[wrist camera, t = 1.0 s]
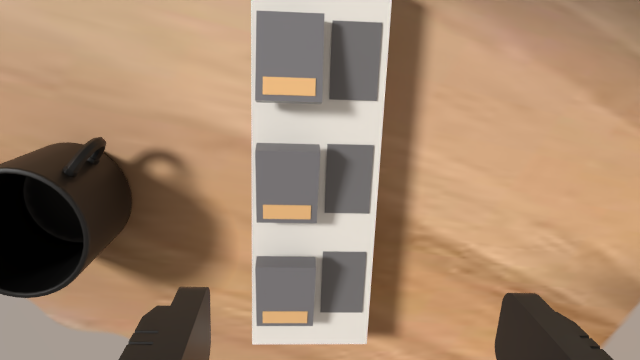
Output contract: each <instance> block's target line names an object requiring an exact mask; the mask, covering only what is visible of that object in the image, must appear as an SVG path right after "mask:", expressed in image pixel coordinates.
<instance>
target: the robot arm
mask: <svg viewBox="0 0 640 360" xmlns="http://www.w3.org/2000/svg"><path fill="white" fill-rule="evenodd" d="M210 345H211V326H210V290H209V287H179V289H178V291H177V293H176V295H175V297H174V300H173V302H172V304H171V306H156V307H155V308H153V309H152V310H151V311H150V312H148V313H147V314H146V315H144V316H143V317H142V319H141V320H140V322H139V324H138V326H137V328H136V329H135V333H133V335H132V337H131V338H130V340H129V344H128V345H127V346H126V348H125V349H124V351H123V353H122V355H121V356H120V358H119V360H209V355H210ZM495 354H496V359H497V360H613V359H612V358H611V357H610V356H609V355H608V354H607V353H606V352H605V351H604V350H603V349H600V346H599V345H598V344H597V343H596V342H595V341H594V340H593V339H592V338H589V336H588V335H587V334H586V333H585V332H584V331H583V330H582V329H581V328H580V327H579V326H578V325H577V324H576V323H575V322H573V321H571V320H570V319H568V318H566V317H565V316H563V315H561V314H560V313H558V312H555V311H554V310H553V309H552V308H551V307H550V306H549V305H548V304H547V303H546V302H545V301H544V300H543V299H542V298H541V297H540V296H539V295H537V294H535V293H507V294H506V295H505V296H504V298H503V301H502V306H501V312H500V317H499V323H498V328H497V334H496V339H495Z"/></svg>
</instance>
